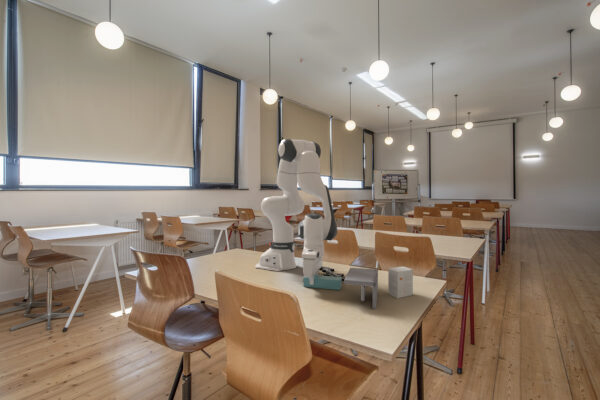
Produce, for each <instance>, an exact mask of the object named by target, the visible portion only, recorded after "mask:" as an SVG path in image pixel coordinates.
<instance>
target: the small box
mask: <svg viewBox="0 0 600 400" xmlns="http://www.w3.org/2000/svg"><path fill="white" fill-rule="evenodd" d="M387 271H388V277H387V279H388V284H387V285H388V286H387V287H388V288H387V289H388V290H387V292H388V294H389V295H390V296H392V297H395V298H396V299H400V298H406V297H409V296H413V295H414V287H413V286H414V285H413V284H414V282H413V281H414V269H412V268H409V267H406V266H404V265H403V266H397V267H396V266H395V267H390V268H388V269H387Z"/></svg>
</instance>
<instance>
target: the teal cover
mask: <svg viewBox="0 0 600 400" xmlns="http://www.w3.org/2000/svg"><path fill="white" fill-rule="evenodd" d="M302 281H303V282H302V283H303V285H302V286H303V287H305V288H313V289H314V288H316V289H325V290H336V291H337V290H338V291H340V290H341V288H342V287H343V281H342V277H332V276H323V275H319V274H318V275H314V284H313V285H310V280H309V277H304V276H303V280H302Z"/></svg>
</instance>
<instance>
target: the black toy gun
mask: <svg viewBox="0 0 600 400" xmlns="http://www.w3.org/2000/svg"><path fill="white" fill-rule="evenodd" d="M319 271H321V273H322V272H323V274H322V276H332V277H342V283H344V279H345V277H346V276H345V274H344V273H336V272H335V268H331V267H327V266H323V265H322V267H321V268H320V269H319Z"/></svg>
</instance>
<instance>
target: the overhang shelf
mask: <svg viewBox="0 0 600 400" xmlns="http://www.w3.org/2000/svg"><path fill="white" fill-rule="evenodd" d="M344 277H345V279H344V282H343V283H344V285H349V286H350V285H351V286H360V301H361V302H364V301H365V298H366V287H372V309H373V310H376V309H377V304H378V303H377V302H378V295H379V294H378V293H379V292H378V291H379V289H378V288H379V270H378V269H377V268H362V267H361V268H360V267H350V268H349V270H348V271H347V274H346V276H344Z"/></svg>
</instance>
